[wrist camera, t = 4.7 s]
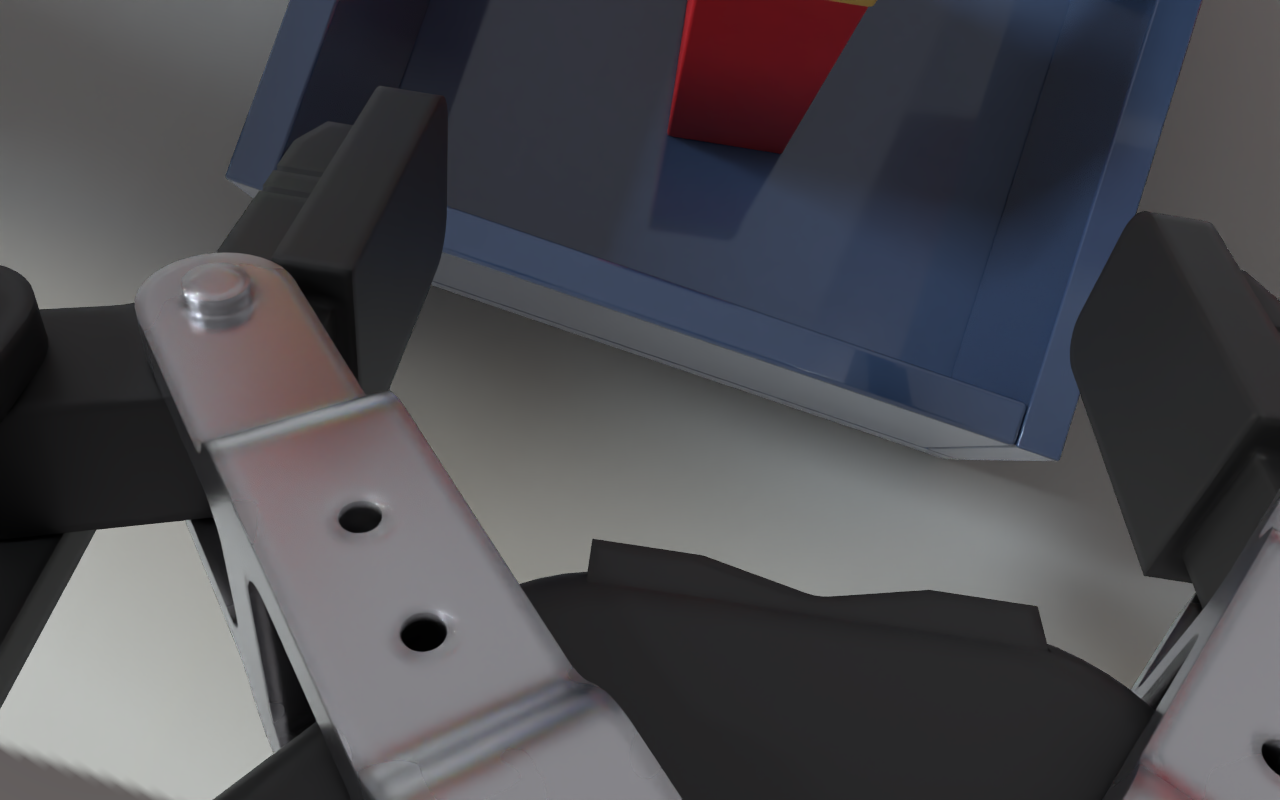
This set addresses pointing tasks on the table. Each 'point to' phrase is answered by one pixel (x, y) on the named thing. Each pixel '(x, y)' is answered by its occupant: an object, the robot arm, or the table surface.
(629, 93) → the tray
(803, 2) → the red box
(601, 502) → the table surface
